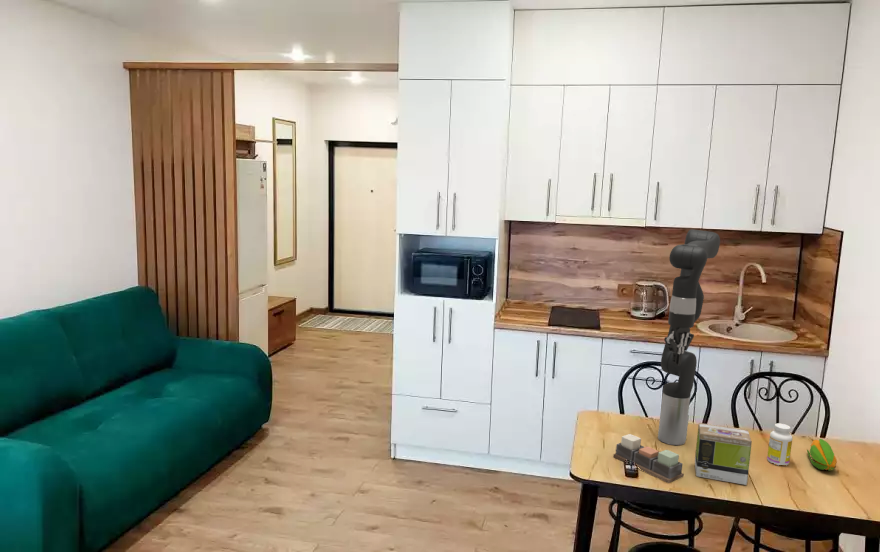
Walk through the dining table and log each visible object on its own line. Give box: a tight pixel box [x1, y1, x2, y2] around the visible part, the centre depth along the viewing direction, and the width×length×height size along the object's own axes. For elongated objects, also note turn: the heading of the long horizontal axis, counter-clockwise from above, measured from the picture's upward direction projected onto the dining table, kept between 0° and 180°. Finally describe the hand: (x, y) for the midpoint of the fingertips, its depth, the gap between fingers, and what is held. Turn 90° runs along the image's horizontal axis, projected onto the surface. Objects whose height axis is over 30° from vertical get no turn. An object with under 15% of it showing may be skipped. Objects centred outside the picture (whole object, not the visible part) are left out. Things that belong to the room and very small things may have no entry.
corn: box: [806, 438, 838, 472], centre depth 218 cm, size 7×8×20 cm
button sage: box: [657, 449, 680, 467], centre depth 203 cm, size 4×4×4 cm
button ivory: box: [620, 433, 642, 450], centre depth 214 cm, size 4×4×4 cm
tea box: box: [694, 422, 753, 486], centre depth 205 cm, size 15×10×15 cm
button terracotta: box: [639, 445, 660, 458], centre depth 209 cm, size 4×4×4 cm
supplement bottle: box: [766, 422, 793, 466], centre depth 216 cm, size 7×7×13 cm
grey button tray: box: [612, 442, 684, 484], centre depth 209 cm, size 8×21×4 cm, turn 37°
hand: (676, 364), depth 203 cm, fingers closed
